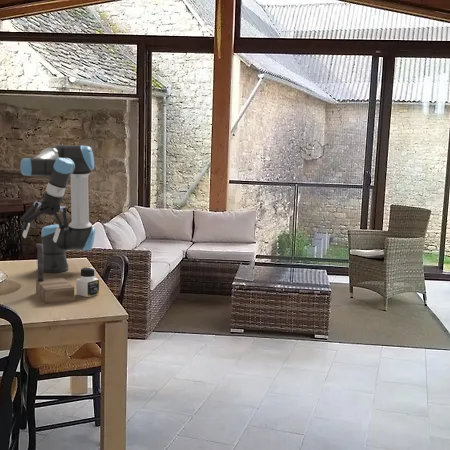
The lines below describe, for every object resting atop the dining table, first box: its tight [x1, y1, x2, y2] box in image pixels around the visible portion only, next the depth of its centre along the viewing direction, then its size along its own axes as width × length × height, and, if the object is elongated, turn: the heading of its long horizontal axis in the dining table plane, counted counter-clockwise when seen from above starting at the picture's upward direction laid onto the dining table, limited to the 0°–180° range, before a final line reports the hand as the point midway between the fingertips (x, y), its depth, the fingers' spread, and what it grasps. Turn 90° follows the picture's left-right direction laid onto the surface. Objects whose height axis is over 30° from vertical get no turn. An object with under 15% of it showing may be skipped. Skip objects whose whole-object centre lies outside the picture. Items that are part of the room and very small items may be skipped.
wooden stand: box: [35, 243, 75, 305], centre depth 266 cm, size 20×12×22 cm, turn 29°
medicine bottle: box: [75, 266, 100, 298], centre depth 272 cm, size 7×7×12 cm
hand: (39, 239), depth 265 cm, fingers open, 13 cm apart
